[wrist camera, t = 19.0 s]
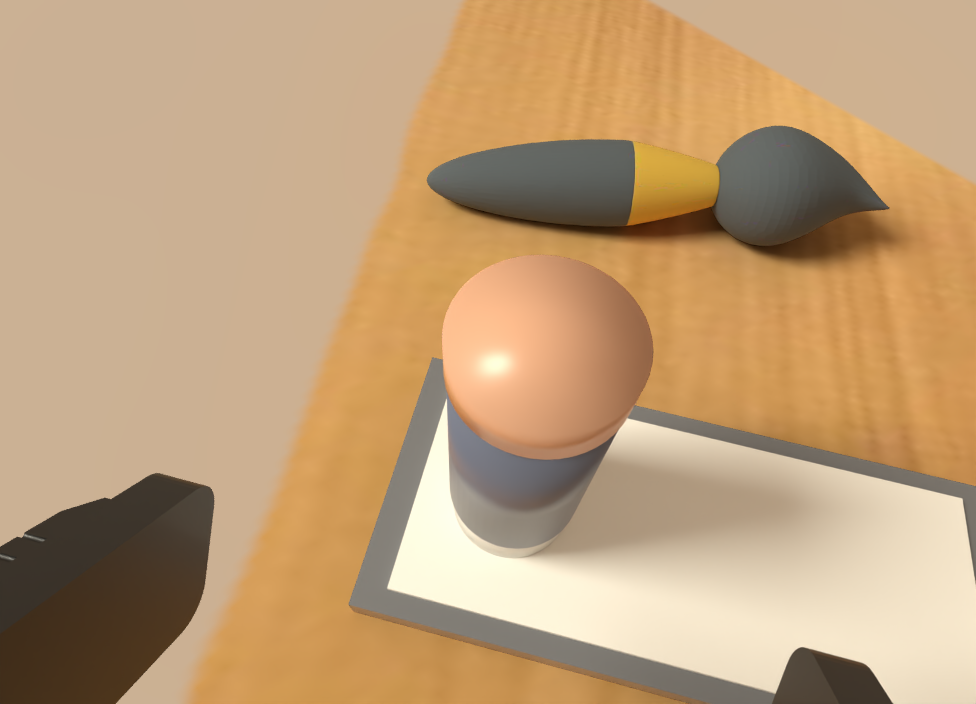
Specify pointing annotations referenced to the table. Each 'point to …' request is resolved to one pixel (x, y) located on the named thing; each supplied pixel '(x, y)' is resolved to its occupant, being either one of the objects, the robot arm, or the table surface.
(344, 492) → the table surface
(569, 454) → the peach capped blue cylinder
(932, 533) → the whiteboard
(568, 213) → the paintbrush
